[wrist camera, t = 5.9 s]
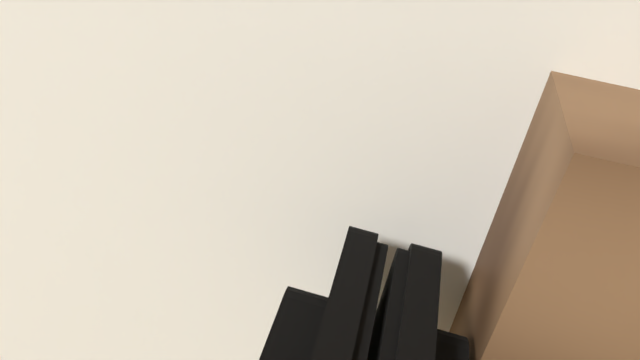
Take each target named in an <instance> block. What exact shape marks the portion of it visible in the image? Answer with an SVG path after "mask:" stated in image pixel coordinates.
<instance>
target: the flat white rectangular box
mask: <svg viewBox="0 0 640 360" xmlns="http://www.w3.org/2000/svg"><path fill="white" fill-rule="evenodd" d="M551 71H555V72H560V73H564V74H569V75H573V76H578V77H583V78H587V79H592V80H597V81H601V82H606V83H611V84H615V85H620V86H624V87H629V88H634V89H638V90H640V0H0V359H1V360H259V358H260V356H261V353H262V350H263V348H264V345H265V343H266V340H267V337H268V335H269V332H270V329H271V327H272V324H273V322H274V319H275V316H276V314H277V311H278V309H279V306H280V303H281V301H282V298H283V295H284V293H285V291H286V289H287V287H288V286H290V287H294V288H297V289H301V290H304V291H308V292H311V293H315V294H318V295H321V296H325V297H329V294H330V290H331V287H332V283H333V280H334V277H335V273H336V270H337V266H338V263H339V259H340V256H341V252H342V249H343V246H344V242H345V239H346V235H347V232H348V228H349V226H352V227H356V228H359V229H363V230H367V231H370V232H374V233H378V234H379V236H378V241H377V242H379V243H383V244H386V245H388V251H387V256H386V262H385V267H384V272H383V278H382V283H381V288H380V293H379V299H378V304H379V301H380V298H381V295H382V292H383V289H384V286H385V282H386V279H387V276H388V273H389V270H390V267H391V264H392V261H393V258H394V255H395V252H396V249H397V248H401V249H404V250H408V249H409V246H410V244H411V243H414V244H417V245H421V246H424V247H428V248H432V249H435V250H439V251H442V267H441V282H440V297H439V311H438V326H437V329H440V330H443V331H447V332H449V331H450V328H451V325H452V323H453V320H454V318H455V315H456V313H457V310H458V308H459V305H460V302H461V300H462V297H463V295H464V292H465V290H466V287H467V285H468V282H469V279H470V277H471V274H472V272H473V269H474V267H475V264H476V261H477V259H478V256H479V254H480V251H481V249H482V246H483V244H484V241H485V238H486V236H487V233H488V231H489V228H490V226H491V223H492V221H493V218H494V215H495V213H496V210H497V208H498V205H499V203H500V200H501V197H502V195H503V192H504V190H505V187H506V185H507V182H508V180H509V177H510V174H511V172H512V169H513V167H514V164H515V162H516V159H517V157H518V154H519V151H520V149H521V146H522V144H523V141H524V139H525V136H526V133H527V131H528V128H529V126H530V123H531V121H532V118H533V116H534V113H535V110H536V108H537V105H538V103H539V100H540V98H541V95H542V93H543V90H544V87H545V85H546V82H547V80H548V77H549V75H550V72H551ZM378 304H377V307H378ZM376 310H377V309H376Z"/></svg>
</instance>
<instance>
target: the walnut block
mask: <svg viewBox="0 0 640 360" xmlns="http://www.w3.org/2000/svg"><path fill="white" fill-rule="evenodd" d="M449 332H450V333H454V334H457V335H461V336H464V337H467V338H468V341H469V360H640V90H638V89H634V88H629V87H624V86H620V85H615V84H611V83H606V82H601V81H597V80H592V79H587V78H583V77H578V76H573V75H569V74H564V73H560V72H555V71H551V72H550V75H549V77H548V80H547V82H546V85H545V87H544V90H543V93H542V95H541V98H540V100H539V103H538V105H537V108H536V110H535V113H534V116H533V118H532V121H531V123H530V126H529V128H528V131H527V133H526V136H525V139H524V141H523V144H522V146H521V149H520V151H519V154H518V157H517V159H516V162H515V164H514V167H513V169H512V172H511V174H510V177H509V180H508V182H507V185H506V187H505V190H504V192H503V195H502V197H501V200H500V203H499V205H498V208H497V210H496V213H495V215H494V218H493V221H492V223H491V226H490V228H489V231H488V233H487V236H486V238H485V241H484V244H483V246H482V249H481V251H480V254H479V256H478V259H477V261H476V264H475V267H474V269H473V272H472V274H471V277H470V279H469V282H468V285H467V287H466V290H465V292H464V295H463V297H462V300H461V302H460V305H459V308H458V310H457V313H456V315H455V318H454V320H453V323H452V325H451V328H450V331H449Z"/></svg>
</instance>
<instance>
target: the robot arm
mask: <svg viewBox="0 0 640 360" xmlns="http://www.w3.org/2000/svg"><path fill="white" fill-rule="evenodd" d="M378 236H379V234H378V233H374V232H370V231H367V230H363V229H359V228H356V227H352V226H349V228H348V232H347V235H346V239H345V242H344V246H343V249H342V252H341V256H340V259H339V263H338V266H337V270H336V273H335V277H334V280H333V283H332V287H331V290H330V294H329V297H325V296H321V295H318V294H315V293H311V292H308V291H304V290H301V289H297V288H294V287H290V286H288V287H287V289H286V291H285V293H284V295H283V298H282V301H281V303H280V306H279V309H278V311H277V314H276V316H275V319H274V322H273V324H272V327H271V329H270V332H269V335H268V337H267V340H266V343H265V345H264V348H263V350H262V353H261V356H260V358H259V360H469V341H468V338H467V337H464V336H461V335H457V334H454V333H450V332H447V331H443V330H440V329H437V326H438V311H439V297H440V282H441V267H442V251H439V250H435V249H432V248H428V247H424V246H421V245H417V244H414V243H411V244H410V246H409V249H408V250H404V249H401V248H397V249H396V252H395V255H394V258H393V261H392V264H391V267H390V270H389V273H388V276H387V279H386V282H385V286H384V289H383V292H382V295H381V298H380V301H379V304H378V299H379V293H380V288H381V283H382V278H383V272H384V267H385V262H386V256H387V251H388V245H386V244H383V243H379V242H377V241H378ZM377 304H378V307H377ZM376 309H377V310H376Z"/></svg>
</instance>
